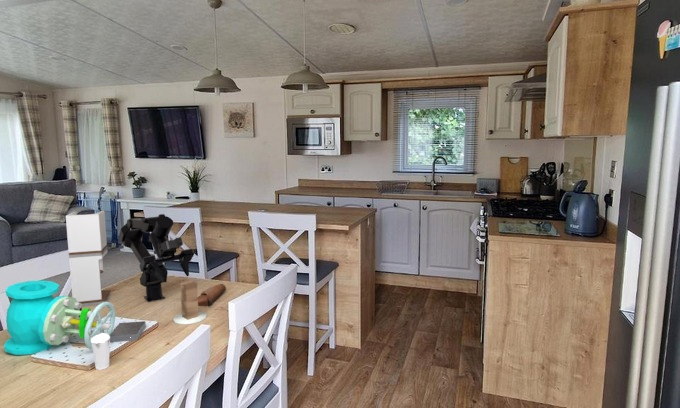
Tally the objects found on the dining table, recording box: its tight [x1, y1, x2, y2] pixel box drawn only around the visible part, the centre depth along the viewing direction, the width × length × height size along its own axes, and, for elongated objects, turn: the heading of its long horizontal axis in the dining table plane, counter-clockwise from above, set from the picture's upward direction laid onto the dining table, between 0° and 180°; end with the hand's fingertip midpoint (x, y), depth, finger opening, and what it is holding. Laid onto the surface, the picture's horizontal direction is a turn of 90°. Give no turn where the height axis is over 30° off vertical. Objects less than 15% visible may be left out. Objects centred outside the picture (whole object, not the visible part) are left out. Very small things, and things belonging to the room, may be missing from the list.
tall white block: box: [65, 210, 112, 308], centre depth 160 cm, size 11×11×35 cm
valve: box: [3, 280, 117, 356], centre depth 123 cm, size 14×18×30 cm
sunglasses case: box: [198, 283, 227, 307], centre depth 165 cm, size 18×7×7 cm
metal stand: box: [109, 320, 147, 343], centre depth 132 cm, size 10×8×2 cm
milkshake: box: [88, 332, 111, 371], centre depth 111 cm, size 4×5×10 cm
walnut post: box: [180, 280, 199, 320], centre depth 144 cm, size 4×4×12 cm
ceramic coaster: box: [173, 310, 208, 326], centre depth 145 cm, size 11×11×1 cm
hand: (176, 278), depth 150 cm, fingers open, 9 cm apart
